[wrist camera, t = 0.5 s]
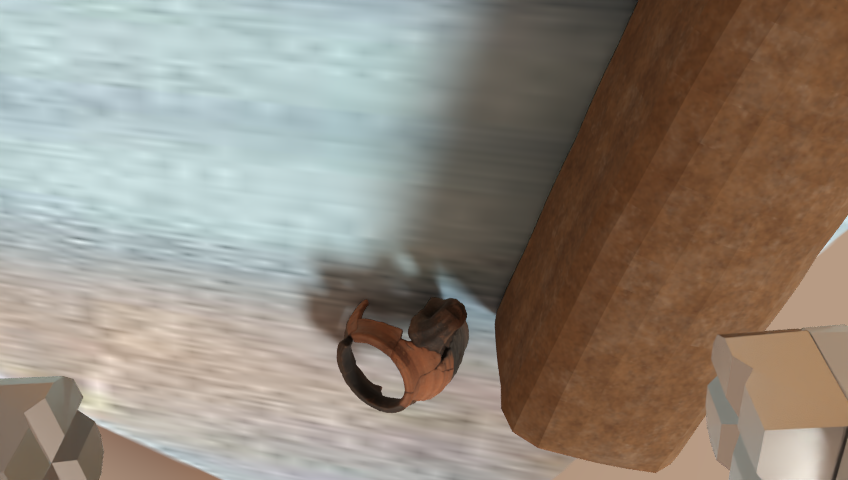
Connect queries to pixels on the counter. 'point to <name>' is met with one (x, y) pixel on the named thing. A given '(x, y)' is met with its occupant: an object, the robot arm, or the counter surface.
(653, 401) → the bread
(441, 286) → the counter surface
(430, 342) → the pottery mug
